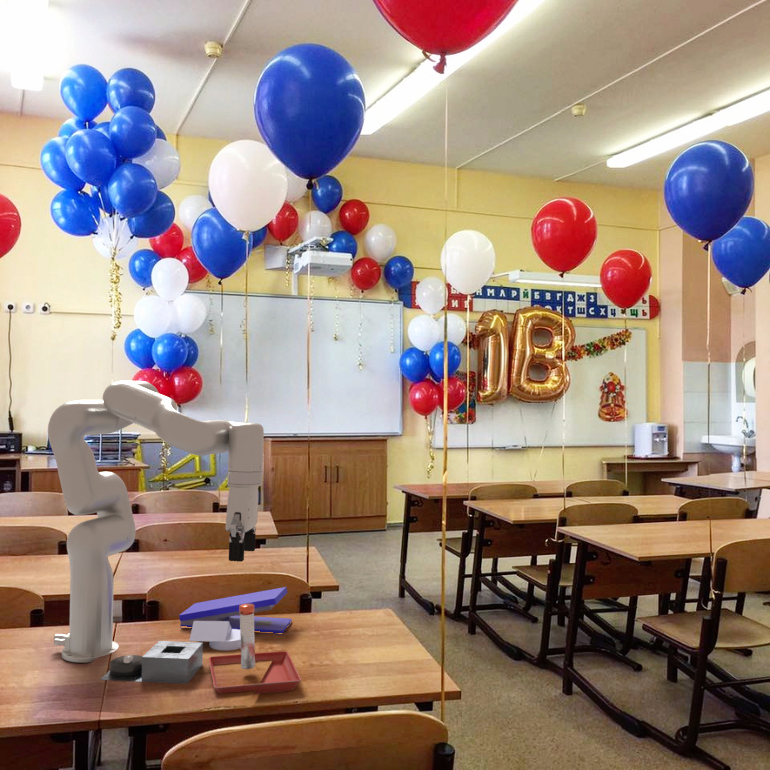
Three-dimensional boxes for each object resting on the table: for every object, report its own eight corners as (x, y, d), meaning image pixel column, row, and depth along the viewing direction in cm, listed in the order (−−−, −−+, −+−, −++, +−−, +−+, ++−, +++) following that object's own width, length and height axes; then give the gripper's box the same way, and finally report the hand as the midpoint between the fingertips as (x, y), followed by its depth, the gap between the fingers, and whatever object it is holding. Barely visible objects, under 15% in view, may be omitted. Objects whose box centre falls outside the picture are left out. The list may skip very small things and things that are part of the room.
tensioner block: (99, 685, 156) (99, 655, 156) (120, 665, 167) (121, 638, 167) (187, 689, 155) (187, 659, 155) (202, 669, 166) (203, 641, 166)
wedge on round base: (188, 655, 175) (243, 655, 175) (189, 626, 175) (244, 627, 175) (197, 642, 184) (249, 642, 184) (197, 615, 184) (250, 615, 184)
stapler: (281, 636, 190) (282, 598, 190) (177, 630, 193) (178, 592, 193) (292, 622, 202) (293, 586, 202) (193, 616, 205) (194, 581, 205)
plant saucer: (287, 663, 172) (287, 649, 172) (301, 695, 155) (302, 679, 155) (207, 671, 167) (208, 656, 167) (213, 704, 149) (214, 687, 149)
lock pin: (239, 669, 159) (237, 607, 160) (242, 664, 162) (241, 603, 163) (253, 669, 159) (252, 607, 159) (257, 663, 162) (255, 603, 163)
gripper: (238, 473, 172) (236, 546, 172) (216, 482, 155) (213, 564, 155) (270, 474, 171) (267, 548, 171) (251, 484, 154) (248, 566, 154)
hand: (242, 555), depth 163 cm, fingers open, 9 cm apart
